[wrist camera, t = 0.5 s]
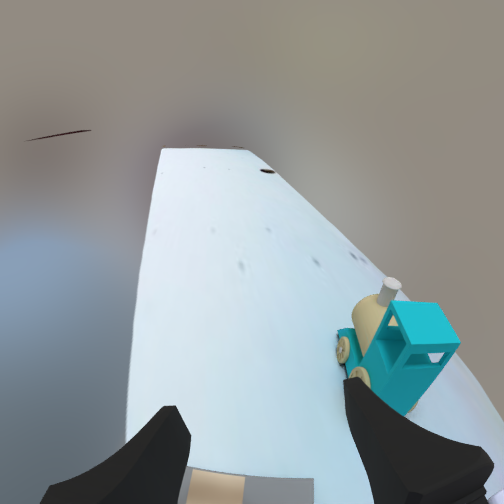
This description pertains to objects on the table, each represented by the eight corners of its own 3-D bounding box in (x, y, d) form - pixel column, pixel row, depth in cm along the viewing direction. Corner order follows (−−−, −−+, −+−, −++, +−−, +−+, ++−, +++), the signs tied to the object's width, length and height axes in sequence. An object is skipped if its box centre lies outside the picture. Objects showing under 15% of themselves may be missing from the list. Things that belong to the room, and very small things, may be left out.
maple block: (234, 529, 18) (240, 521, 14) (191, 523, 18) (184, 512, 15) (238, 495, 22) (245, 476, 18) (197, 489, 22) (193, 469, 18)
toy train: (375, 336, 45) (410, 257, 37) (403, 421, 30) (465, 342, 23) (331, 334, 45) (359, 250, 37) (348, 426, 30) (404, 344, 23)
